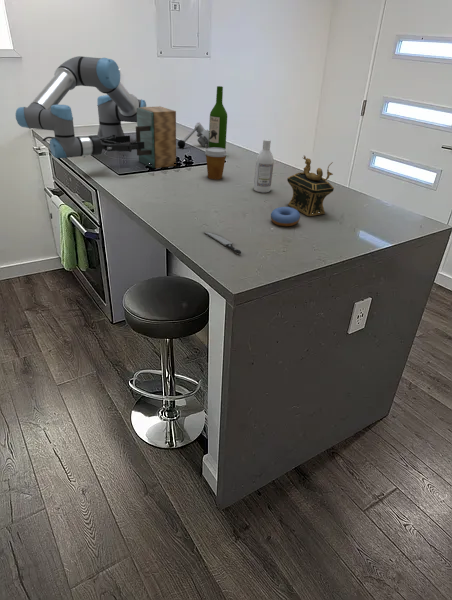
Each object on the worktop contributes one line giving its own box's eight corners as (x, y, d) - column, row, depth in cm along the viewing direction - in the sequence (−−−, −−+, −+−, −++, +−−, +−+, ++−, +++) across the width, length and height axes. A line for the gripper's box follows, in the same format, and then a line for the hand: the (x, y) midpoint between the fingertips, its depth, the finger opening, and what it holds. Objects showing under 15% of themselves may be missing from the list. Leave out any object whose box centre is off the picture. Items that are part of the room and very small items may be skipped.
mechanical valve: (218, 142, 240) (202, 120, 230) (197, 165, 239) (180, 145, 229) (209, 140, 248) (194, 119, 238) (189, 162, 247) (172, 142, 237)
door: (140, 169, 194) (137, 113, 181) (126, 162, 203) (123, 108, 191) (155, 168, 198) (153, 112, 185) (140, 161, 207) (138, 107, 195)
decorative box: (282, 203, 165) (289, 150, 155) (302, 201, 169) (310, 149, 159) (314, 222, 151) (324, 164, 140) (336, 218, 155) (347, 162, 144)
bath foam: (273, 192, 177) (279, 141, 167) (258, 193, 175) (263, 142, 164) (265, 187, 183) (270, 137, 172) (250, 188, 180) (255, 138, 169)
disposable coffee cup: (229, 176, 193) (230, 149, 186) (219, 182, 185) (221, 153, 179) (210, 173, 196) (211, 146, 190) (200, 178, 188) (201, 149, 182)
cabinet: (155, 168, 198) (153, 112, 185) (141, 161, 207) (138, 107, 195) (176, 165, 204) (175, 111, 191) (161, 159, 213) (160, 106, 201)
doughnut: (279, 229, 143) (280, 216, 140) (264, 219, 150) (266, 206, 148) (304, 226, 146) (306, 213, 144) (289, 216, 154) (291, 204, 152)
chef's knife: (211, 231, 138) (203, 232, 137) (211, 228, 138) (203, 229, 136) (247, 253, 125) (238, 255, 124) (247, 250, 125) (239, 251, 123)
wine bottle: (205, 155, 224) (207, 86, 207) (212, 152, 232) (215, 85, 215) (221, 158, 222) (224, 88, 205) (227, 154, 229) (231, 86, 212)
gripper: (79, 148, 188) (124, 144, 200) (102, 162, 172) (150, 157, 183) (77, 130, 184) (123, 127, 196) (101, 142, 168) (149, 138, 179)
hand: (136, 141), depth 189 cm, fingers open, 13 cm apart
